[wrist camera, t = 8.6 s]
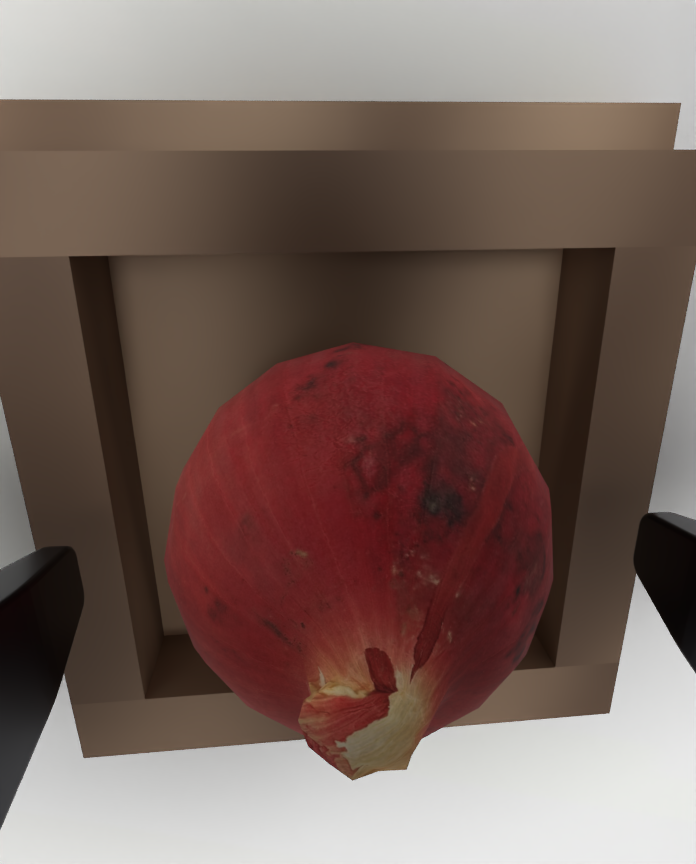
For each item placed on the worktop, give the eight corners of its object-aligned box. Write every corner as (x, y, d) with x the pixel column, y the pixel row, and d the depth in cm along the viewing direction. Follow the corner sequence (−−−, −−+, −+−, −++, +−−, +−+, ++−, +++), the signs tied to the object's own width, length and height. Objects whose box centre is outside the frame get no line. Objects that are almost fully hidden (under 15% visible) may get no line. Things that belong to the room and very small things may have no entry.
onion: (310, 268, 12) (286, 264, 4) (531, 418, 13) (851, 645, 5) (169, 495, 13) (-61, 831, 5) (382, 615, 14) (456, 1044, 6)
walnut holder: (651, 111, 12) (760, 79, 9) (567, 655, 17) (623, 743, 14) (-8, 109, 11) (-112, 71, 8) (108, 690, 16) (67, 792, 13)
